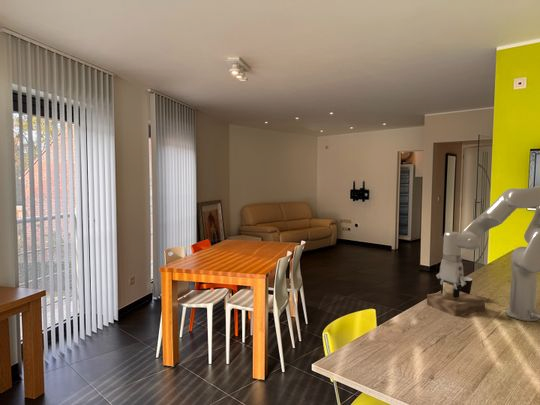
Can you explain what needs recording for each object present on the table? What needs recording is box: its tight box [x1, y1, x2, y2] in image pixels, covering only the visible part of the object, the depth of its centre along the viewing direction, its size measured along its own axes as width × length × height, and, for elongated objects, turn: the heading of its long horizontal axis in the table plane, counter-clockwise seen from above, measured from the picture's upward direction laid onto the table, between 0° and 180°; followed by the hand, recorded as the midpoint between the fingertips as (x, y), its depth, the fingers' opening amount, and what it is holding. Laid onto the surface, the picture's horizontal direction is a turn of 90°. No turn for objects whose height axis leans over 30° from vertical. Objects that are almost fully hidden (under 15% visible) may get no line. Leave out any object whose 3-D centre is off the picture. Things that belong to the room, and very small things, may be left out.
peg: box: [442, 281, 457, 300], centre depth 175 cm, size 6×6×11 cm
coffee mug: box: [460, 276, 473, 295], centre depth 193 cm, size 12×9×10 cm
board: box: [426, 291, 486, 317], centre depth 177 cm, size 16×20×5 cm
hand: (449, 294), depth 175 cm, fingers closed on peg, 6 cm apart
